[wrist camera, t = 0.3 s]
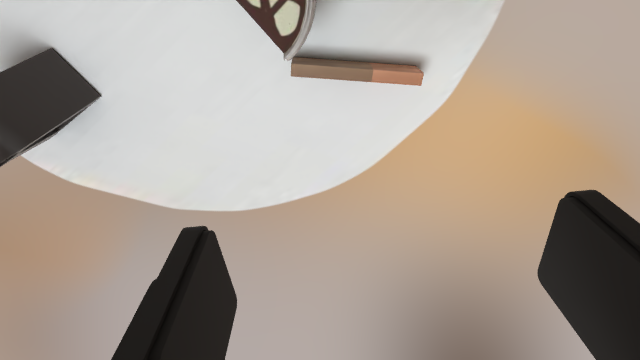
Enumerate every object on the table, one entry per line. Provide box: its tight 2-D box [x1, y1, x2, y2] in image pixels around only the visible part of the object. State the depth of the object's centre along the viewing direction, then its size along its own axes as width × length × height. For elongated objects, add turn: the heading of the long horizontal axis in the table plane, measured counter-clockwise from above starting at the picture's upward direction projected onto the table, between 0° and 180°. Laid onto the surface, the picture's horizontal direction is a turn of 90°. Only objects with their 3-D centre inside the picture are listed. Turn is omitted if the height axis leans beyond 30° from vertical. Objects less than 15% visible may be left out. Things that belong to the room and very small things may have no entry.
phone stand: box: [0, 49, 101, 167], centre depth 33 cm, size 9×6×12 cm, turn 123°
